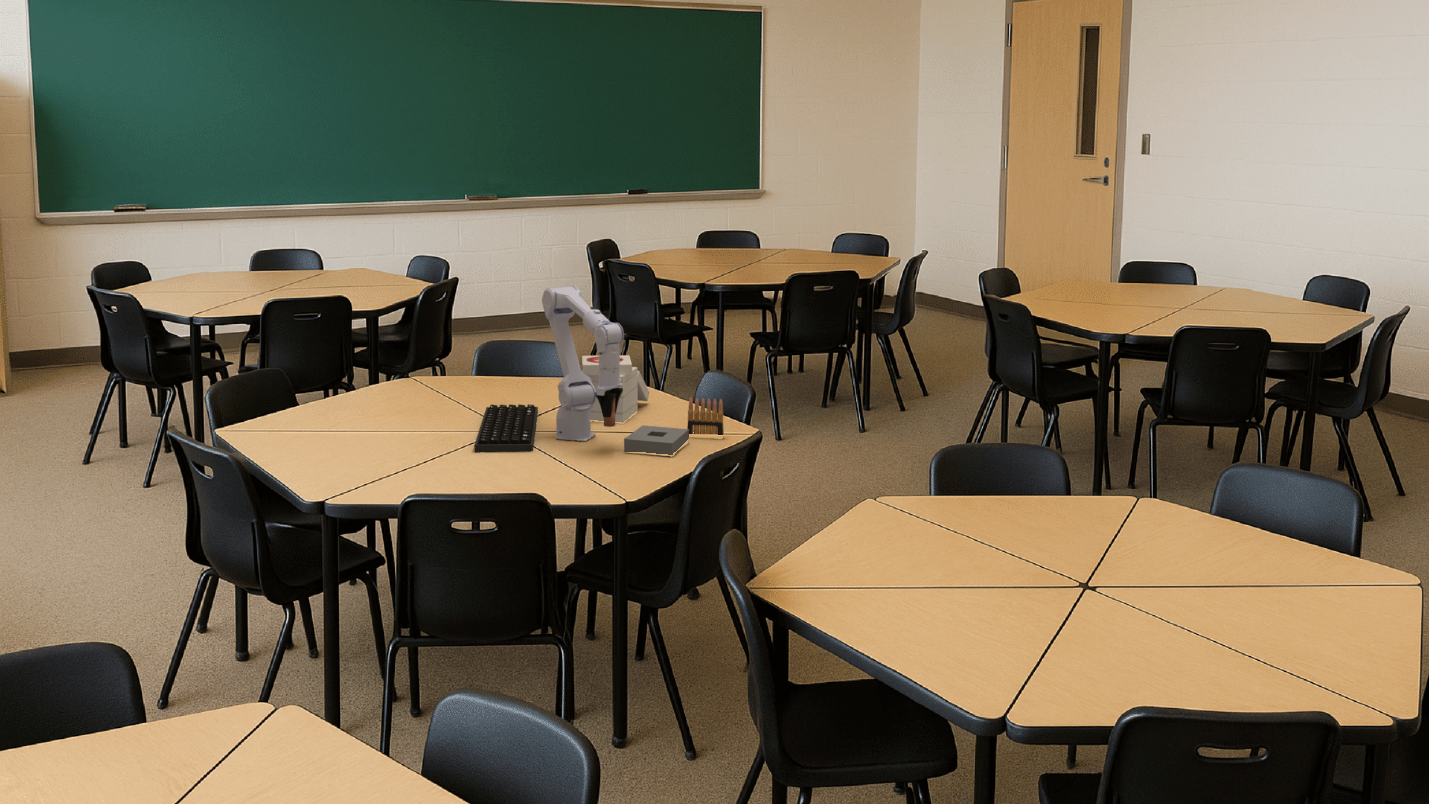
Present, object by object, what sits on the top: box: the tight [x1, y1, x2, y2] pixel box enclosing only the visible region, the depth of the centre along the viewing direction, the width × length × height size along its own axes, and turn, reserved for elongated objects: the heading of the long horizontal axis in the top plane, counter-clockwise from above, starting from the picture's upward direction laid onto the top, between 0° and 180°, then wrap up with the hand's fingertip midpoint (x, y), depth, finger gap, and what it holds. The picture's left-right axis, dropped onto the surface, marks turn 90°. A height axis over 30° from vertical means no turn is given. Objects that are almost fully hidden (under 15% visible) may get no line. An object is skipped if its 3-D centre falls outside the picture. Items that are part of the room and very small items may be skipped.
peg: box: [603, 399, 616, 428], centre depth 323 cm, size 3×3×8 cm
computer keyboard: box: [473, 403, 539, 454], centre depth 343 cm, size 45×16×4 cm, turn 7°
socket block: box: [623, 425, 690, 455], centre depth 328 cm, size 14×16×4 cm
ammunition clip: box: [686, 397, 724, 435], centre depth 339 cm, size 11×2×12 cm, turn 82°
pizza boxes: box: [581, 354, 650, 423], centre depth 366 cm, size 19×30×18 cm, turn 166°
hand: (609, 415), depth 323 cm, fingers closed on peg, 3 cm apart
